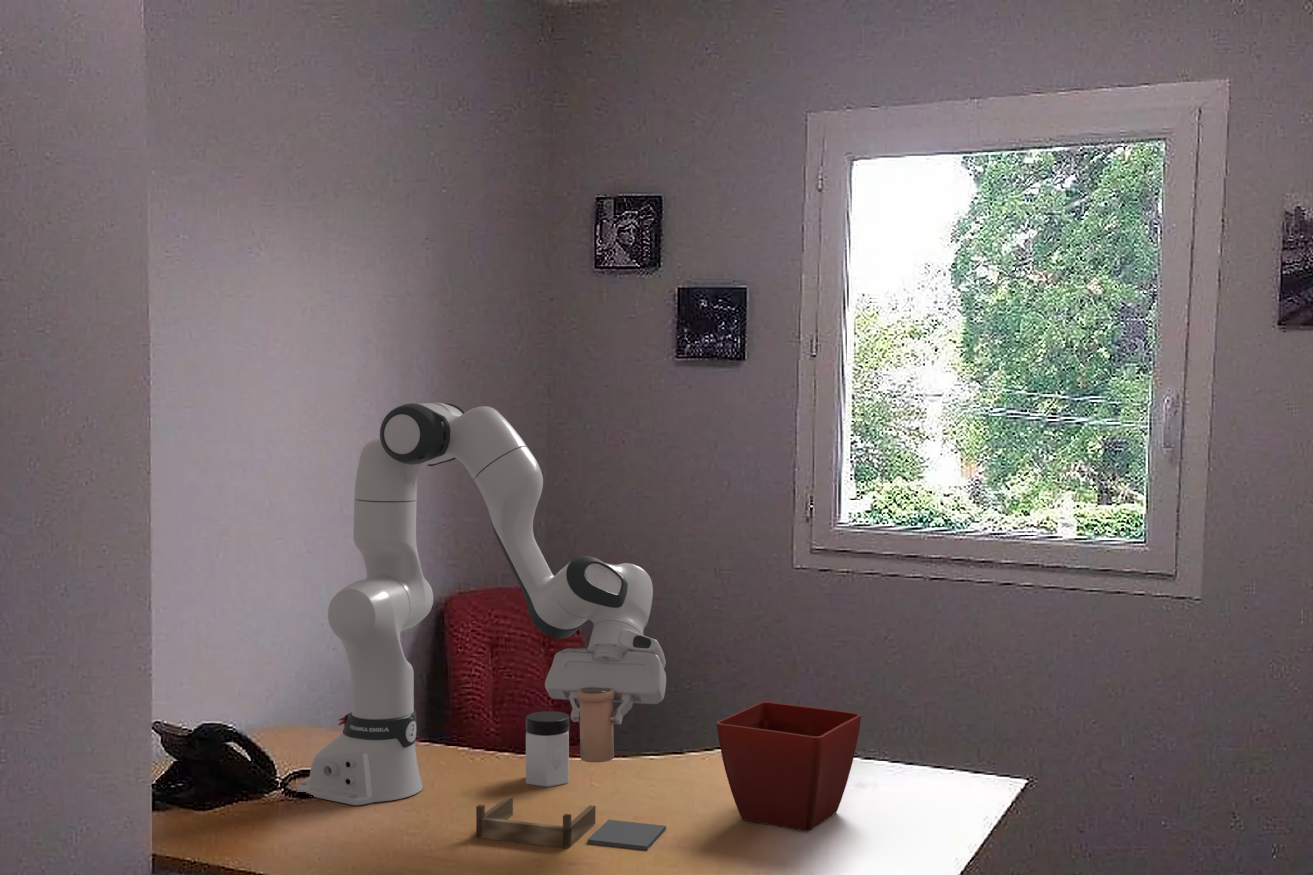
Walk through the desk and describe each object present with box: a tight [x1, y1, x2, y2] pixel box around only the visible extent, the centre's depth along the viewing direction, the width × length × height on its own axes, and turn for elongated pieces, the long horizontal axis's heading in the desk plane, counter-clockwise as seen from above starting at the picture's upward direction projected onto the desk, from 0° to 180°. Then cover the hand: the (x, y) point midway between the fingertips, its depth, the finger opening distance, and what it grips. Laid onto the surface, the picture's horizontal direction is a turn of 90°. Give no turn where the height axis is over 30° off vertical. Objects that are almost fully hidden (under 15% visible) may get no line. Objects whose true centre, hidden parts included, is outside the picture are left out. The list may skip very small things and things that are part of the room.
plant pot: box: [716, 701, 862, 832], centre depth 204 cm, size 19×19×17 cm
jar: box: [525, 710, 571, 788], centre depth 223 cm, size 9×8×12 cm
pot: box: [577, 687, 615, 763], centre depth 194 cm, size 6×6×11 cm
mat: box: [586, 819, 667, 851], centre depth 193 cm, size 10×10×1 cm
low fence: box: [475, 796, 596, 849], centre depth 196 cm, size 16×12×5 cm
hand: (595, 721), depth 194 cm, fingers closed on pot, 5 cm apart
